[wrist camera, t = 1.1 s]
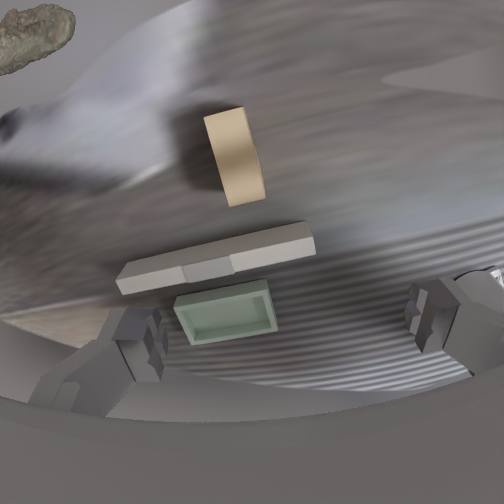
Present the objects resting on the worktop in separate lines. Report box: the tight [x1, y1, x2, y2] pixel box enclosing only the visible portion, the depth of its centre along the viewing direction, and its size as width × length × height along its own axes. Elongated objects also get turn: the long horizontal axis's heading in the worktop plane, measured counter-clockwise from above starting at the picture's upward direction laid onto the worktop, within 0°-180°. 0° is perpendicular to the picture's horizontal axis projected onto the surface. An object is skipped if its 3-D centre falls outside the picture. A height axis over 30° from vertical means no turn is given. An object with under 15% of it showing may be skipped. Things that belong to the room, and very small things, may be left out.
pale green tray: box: [173, 279, 278, 345], centre depth 46 cm, size 14×8×3 cm, turn 104°
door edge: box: [115, 221, 316, 295], centre depth 40 cm, size 26×2×5 cm, turn 104°
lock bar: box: [203, 106, 266, 207], centre depth 34 cm, size 10×4×6 cm, turn 14°
